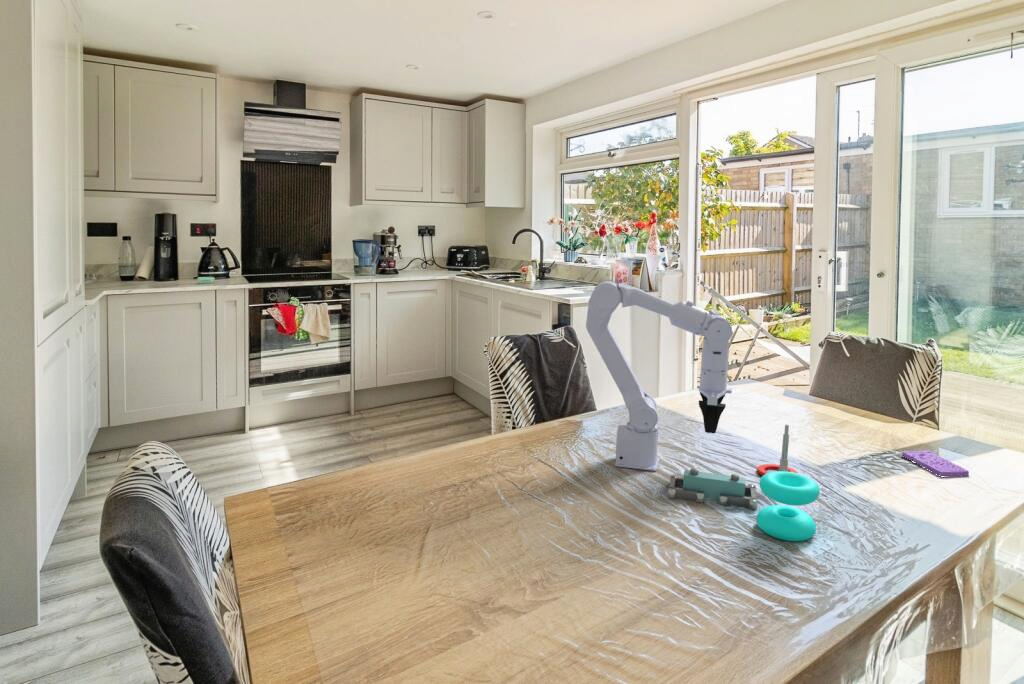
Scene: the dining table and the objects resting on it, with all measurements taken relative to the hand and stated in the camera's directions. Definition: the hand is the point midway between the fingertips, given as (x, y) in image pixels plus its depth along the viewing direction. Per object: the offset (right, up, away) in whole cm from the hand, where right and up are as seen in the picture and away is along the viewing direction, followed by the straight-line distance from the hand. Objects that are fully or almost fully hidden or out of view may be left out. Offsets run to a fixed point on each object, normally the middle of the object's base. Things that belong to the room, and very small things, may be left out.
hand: (710, 427), depth 140 cm
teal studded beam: (-4, -13, -12) cm, 18 cm away
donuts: (+5, -16, -27) cm, 31 cm away
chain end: (-9, -12, -11) cm, 18 cm away
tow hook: (+14, -11, -2) cm, 18 cm away
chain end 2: (+1, -13, -14) cm, 19 cm away
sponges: (+53, -10, +3) cm, 54 cm away
